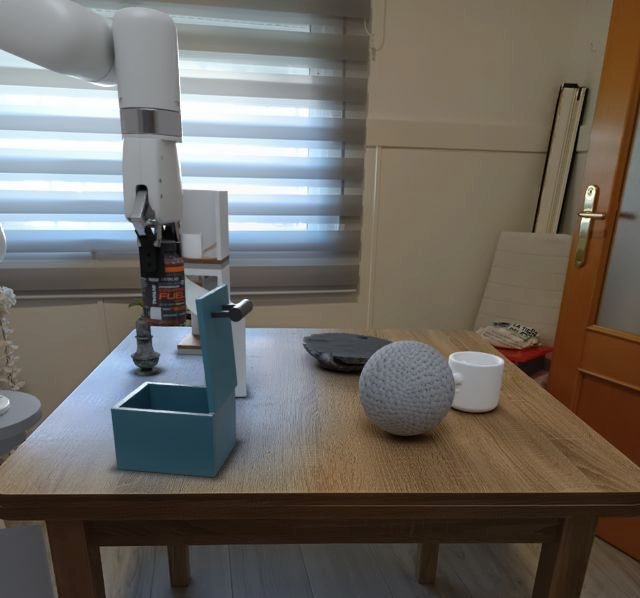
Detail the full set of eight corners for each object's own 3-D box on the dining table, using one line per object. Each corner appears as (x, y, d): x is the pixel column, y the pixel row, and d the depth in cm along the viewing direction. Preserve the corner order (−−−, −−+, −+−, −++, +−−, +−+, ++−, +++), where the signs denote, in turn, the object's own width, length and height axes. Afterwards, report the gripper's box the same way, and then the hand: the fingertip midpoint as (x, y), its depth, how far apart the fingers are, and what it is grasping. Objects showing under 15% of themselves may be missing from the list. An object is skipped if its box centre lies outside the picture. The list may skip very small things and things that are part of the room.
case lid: (194, 299, 68) (234, 298, 67) (221, 284, 78) (256, 283, 78) (209, 413, 73) (246, 413, 72) (232, 384, 84) (264, 384, 83)
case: (117, 469, 78) (110, 408, 74) (150, 435, 88) (145, 381, 85) (214, 477, 77) (212, 416, 73) (236, 442, 87) (235, 387, 84)
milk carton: (241, 385, 112) (239, 286, 105) (246, 397, 106) (245, 293, 99) (204, 387, 111) (200, 287, 103) (207, 399, 104) (203, 294, 97)
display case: (188, 341, 142) (180, 189, 129) (231, 343, 142) (227, 190, 129) (177, 353, 132) (167, 189, 118) (223, 355, 132) (219, 190, 119)
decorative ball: (360, 411, 101) (366, 327, 95) (446, 419, 99) (457, 334, 93) (351, 446, 88) (357, 350, 82) (451, 456, 85) (464, 358, 80)
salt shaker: (146, 377, 115) (141, 318, 110) (125, 372, 117) (120, 314, 113) (167, 370, 119) (163, 313, 115) (147, 366, 122) (142, 309, 117)
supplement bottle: (162, 329, 78) (156, 243, 74) (135, 323, 81) (127, 239, 77) (195, 323, 83) (192, 241, 78) (168, 316, 86) (163, 237, 82)
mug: (425, 395, 111) (430, 349, 107) (472, 391, 114) (478, 347, 110) (457, 417, 100) (464, 367, 97) (507, 413, 103) (516, 364, 100)
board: (354, 347, 143) (356, 327, 141) (419, 369, 127) (422, 346, 125) (281, 359, 130) (281, 337, 128) (343, 386, 114) (344, 361, 112)
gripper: (148, 134, 81) (158, 265, 88) (91, 120, 65) (108, 282, 72) (200, 135, 80) (206, 268, 87) (156, 121, 64) (167, 285, 71)
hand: (162, 273), depth 79 cm, fingers closed on supplement bottle, 6 cm apart
